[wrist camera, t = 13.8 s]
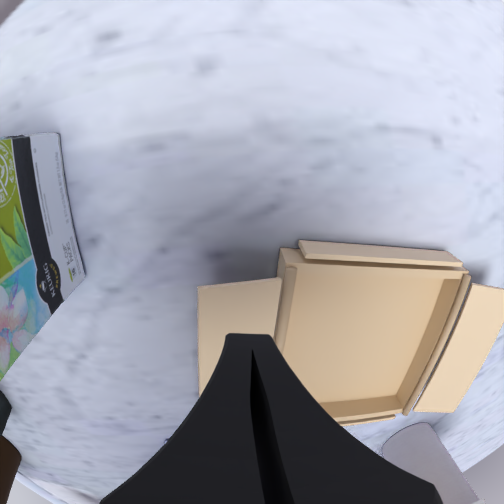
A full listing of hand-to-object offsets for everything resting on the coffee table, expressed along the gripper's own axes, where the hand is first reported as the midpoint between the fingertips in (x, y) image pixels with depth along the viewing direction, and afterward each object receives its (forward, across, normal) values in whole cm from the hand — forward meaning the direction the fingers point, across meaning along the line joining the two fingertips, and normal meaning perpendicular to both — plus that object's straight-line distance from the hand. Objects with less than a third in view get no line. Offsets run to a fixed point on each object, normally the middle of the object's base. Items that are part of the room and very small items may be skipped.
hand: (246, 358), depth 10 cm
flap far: (+7, -15, +7) cm, 18 cm away
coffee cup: (+10, -21, +23) cm, 33 cm away
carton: (+10, -9, +7) cm, 15 cm away
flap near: (+7, -3, +7) cm, 11 cm away
